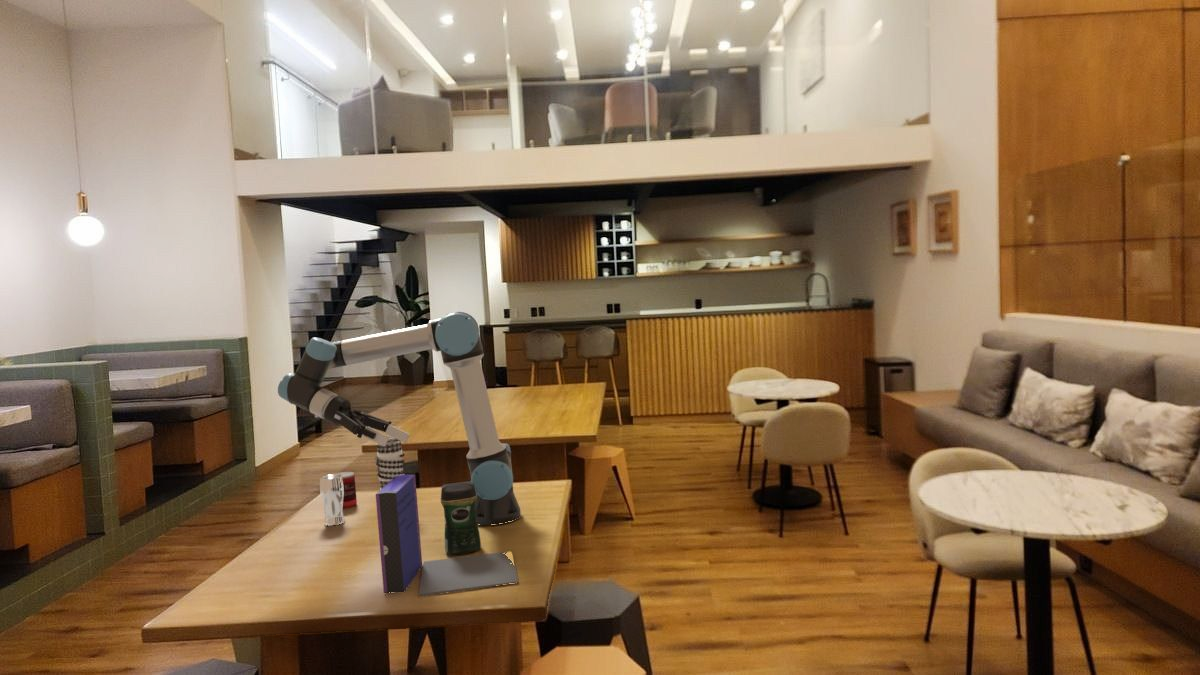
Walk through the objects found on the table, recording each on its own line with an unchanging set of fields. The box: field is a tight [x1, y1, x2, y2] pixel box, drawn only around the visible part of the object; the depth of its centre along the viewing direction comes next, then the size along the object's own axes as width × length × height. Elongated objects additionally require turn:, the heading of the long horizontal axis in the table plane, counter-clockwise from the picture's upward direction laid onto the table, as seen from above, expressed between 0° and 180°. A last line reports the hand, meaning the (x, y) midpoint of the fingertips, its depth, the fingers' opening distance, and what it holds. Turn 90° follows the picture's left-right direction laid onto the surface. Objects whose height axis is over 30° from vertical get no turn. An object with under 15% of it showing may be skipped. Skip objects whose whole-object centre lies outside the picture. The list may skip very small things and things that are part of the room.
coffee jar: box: [440, 480, 482, 556], centre depth 203 cm, size 10×8×19 cm
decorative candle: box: [375, 435, 406, 491], centre depth 243 cm, size 9×9×25 cm
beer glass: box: [319, 473, 346, 527], centre depth 236 cm, size 7×7×15 cm
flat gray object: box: [417, 551, 519, 597], centre depth 186 cm, size 23×22×1 cm
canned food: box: [335, 471, 358, 510], centre depth 256 cm, size 8×8×11 cm
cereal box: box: [375, 474, 423, 594], centre depth 184 cm, size 17×5×24 cm, turn 179°
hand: (397, 440), depth 203 cm, fingers open, 13 cm apart
